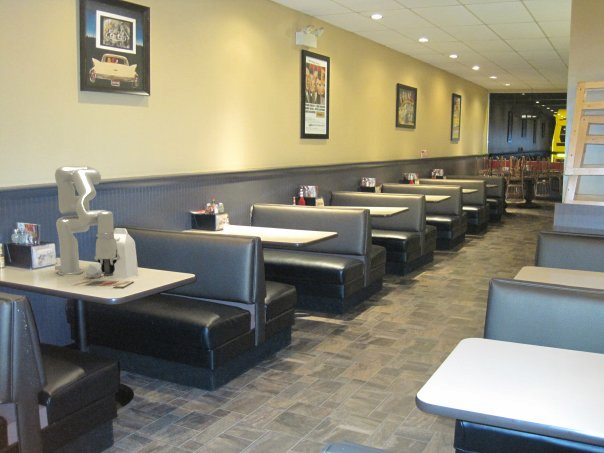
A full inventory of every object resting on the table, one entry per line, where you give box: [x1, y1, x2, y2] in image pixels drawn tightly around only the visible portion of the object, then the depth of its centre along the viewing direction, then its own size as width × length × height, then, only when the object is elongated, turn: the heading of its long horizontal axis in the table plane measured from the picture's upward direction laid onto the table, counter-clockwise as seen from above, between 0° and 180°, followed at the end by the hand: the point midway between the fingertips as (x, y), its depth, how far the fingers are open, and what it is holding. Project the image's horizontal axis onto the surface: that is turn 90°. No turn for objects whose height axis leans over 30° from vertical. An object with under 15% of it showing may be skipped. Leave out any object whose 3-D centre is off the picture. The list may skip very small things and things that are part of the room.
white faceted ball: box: [84, 263, 103, 279], centre depth 316 cm, size 8×9×10 cm
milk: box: [106, 227, 139, 279], centre depth 319 cm, size 12×12×26 cm
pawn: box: [102, 259, 113, 277], centre depth 299 cm, size 5×5×10 cm
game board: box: [72, 280, 135, 289], centre depth 301 cm, size 28×13×1 cm, turn 83°
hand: (108, 272), depth 300 cm, fingers closed on pawn, 3 cm apart
